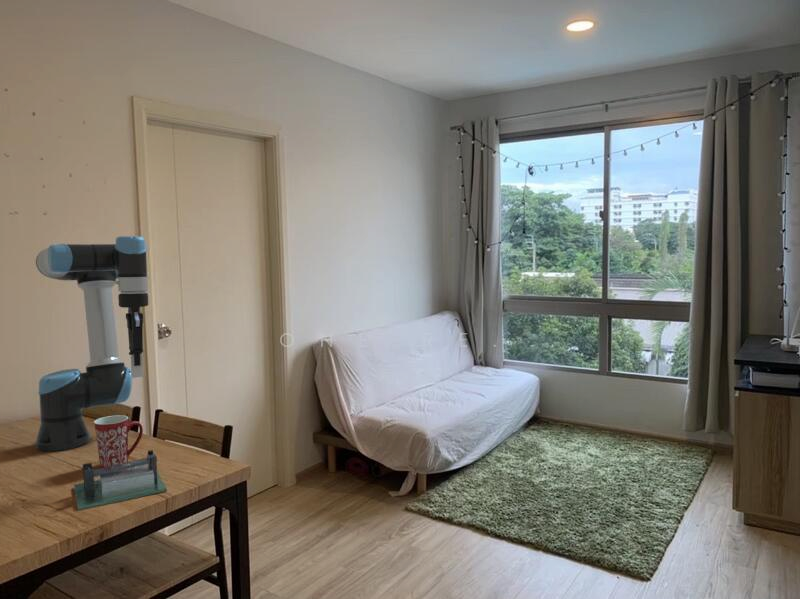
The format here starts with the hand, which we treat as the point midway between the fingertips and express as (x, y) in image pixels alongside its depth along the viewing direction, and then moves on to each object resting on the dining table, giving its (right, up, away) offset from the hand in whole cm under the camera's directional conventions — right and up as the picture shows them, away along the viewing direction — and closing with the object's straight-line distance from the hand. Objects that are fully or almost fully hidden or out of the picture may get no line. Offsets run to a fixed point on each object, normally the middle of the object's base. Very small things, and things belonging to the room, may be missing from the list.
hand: (137, 376), depth 166 cm
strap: (+2, -22, -13) cm, 26 cm away
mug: (-8, -26, +6) cm, 28 cm away
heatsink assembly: (+1, -28, -13) cm, 30 cm away
